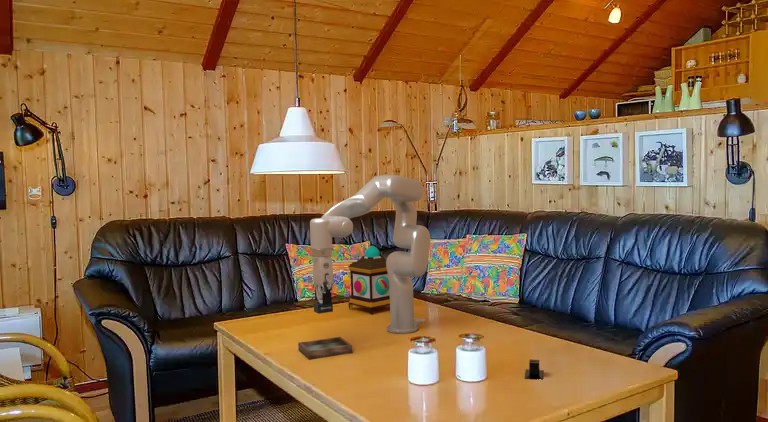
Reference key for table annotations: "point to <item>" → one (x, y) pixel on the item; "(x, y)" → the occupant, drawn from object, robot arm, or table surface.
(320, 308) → the watch
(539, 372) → the black block
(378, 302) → the decorative lantern
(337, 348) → the watch tray
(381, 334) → the table surface
